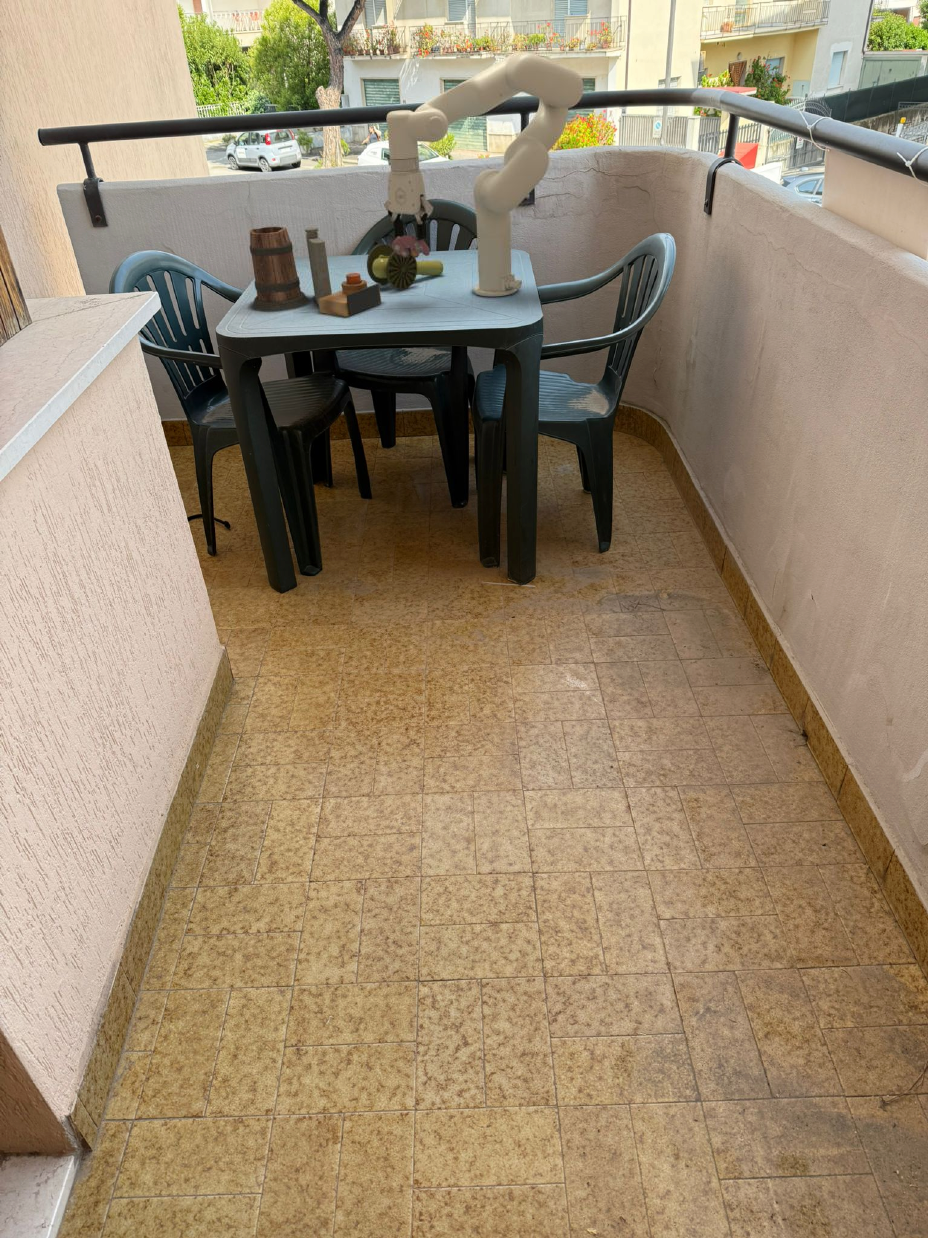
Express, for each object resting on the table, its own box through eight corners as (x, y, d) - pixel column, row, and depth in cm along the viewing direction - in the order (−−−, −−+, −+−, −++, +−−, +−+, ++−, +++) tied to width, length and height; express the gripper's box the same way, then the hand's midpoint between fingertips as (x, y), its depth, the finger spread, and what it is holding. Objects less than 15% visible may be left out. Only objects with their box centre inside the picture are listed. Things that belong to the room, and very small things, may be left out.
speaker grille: (380, 302, 239) (378, 283, 236) (350, 314, 231) (347, 295, 228) (379, 302, 240) (377, 283, 237) (348, 314, 231) (346, 294, 228)
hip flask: (334, 307, 239) (324, 231, 227) (320, 309, 238) (309, 233, 226) (325, 294, 251) (314, 221, 240) (311, 295, 251) (300, 223, 239)
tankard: (304, 309, 239) (292, 233, 227) (245, 312, 239) (231, 236, 228) (316, 287, 258) (306, 217, 246) (262, 290, 258) (249, 220, 247)
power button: (364, 282, 238) (363, 273, 236) (354, 286, 235) (353, 276, 234) (353, 281, 240) (352, 272, 238) (344, 284, 237) (343, 275, 236)
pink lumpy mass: (394, 262, 235) (388, 241, 229) (399, 251, 237) (393, 229, 231) (427, 263, 232) (421, 242, 226) (431, 252, 234) (426, 230, 228)
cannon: (429, 271, 268) (426, 233, 261) (452, 277, 260) (450, 238, 254) (364, 287, 255) (360, 247, 249) (387, 294, 248) (383, 253, 241)
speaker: (381, 303, 241) (379, 281, 237) (346, 316, 231) (343, 294, 227) (355, 298, 245) (352, 277, 242) (320, 312, 236) (316, 290, 232)
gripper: (370, 166, 222) (378, 237, 232) (421, 168, 213) (427, 243, 224) (389, 161, 227) (395, 232, 237) (439, 164, 218) (444, 237, 228)
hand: (410, 237), depth 230 cm, fingers closed on pink lumpy mass, 7 cm apart
